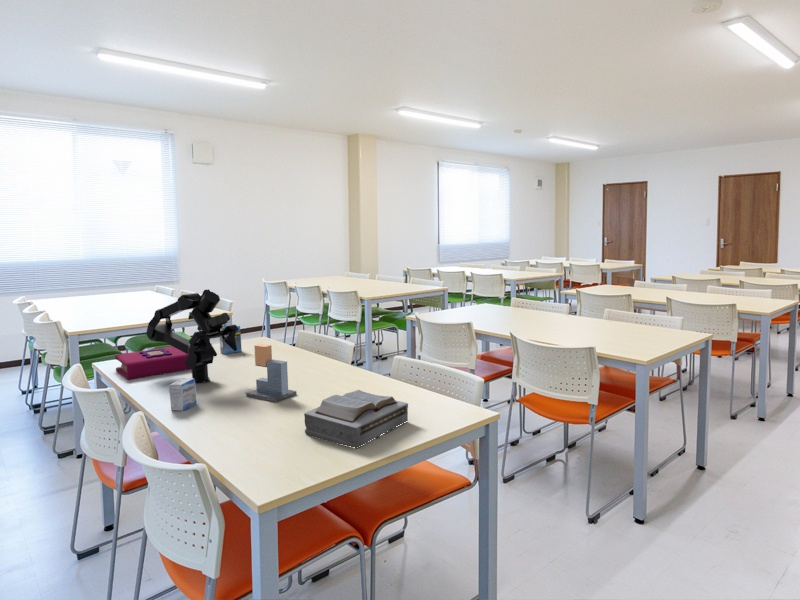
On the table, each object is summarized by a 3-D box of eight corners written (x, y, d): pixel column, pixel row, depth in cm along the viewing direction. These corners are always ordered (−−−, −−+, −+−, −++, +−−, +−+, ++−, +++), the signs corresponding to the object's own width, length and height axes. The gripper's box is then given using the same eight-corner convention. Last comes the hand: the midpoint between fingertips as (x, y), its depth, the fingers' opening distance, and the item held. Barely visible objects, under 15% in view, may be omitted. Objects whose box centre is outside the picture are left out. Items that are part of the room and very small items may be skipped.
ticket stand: (246, 396, 187) (244, 361, 186) (267, 388, 196) (265, 355, 194) (276, 402, 180) (274, 366, 178) (296, 394, 188) (295, 359, 187)
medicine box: (183, 411, 172) (181, 384, 171) (170, 410, 173) (168, 384, 172) (197, 403, 180) (195, 378, 179) (184, 402, 181) (183, 377, 180)
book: (201, 369, 226) (200, 351, 225) (128, 381, 209) (126, 362, 208) (184, 360, 242) (183, 343, 241) (115, 371, 225) (113, 353, 224)
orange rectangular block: (255, 365, 188) (254, 345, 187) (261, 363, 191) (260, 343, 190) (265, 367, 185) (264, 346, 185) (272, 365, 188) (271, 345, 187)
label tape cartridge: (238, 350, 259) (237, 324, 258) (241, 351, 256) (240, 325, 255) (220, 353, 254) (218, 327, 252) (223, 354, 251) (222, 328, 249)
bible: (295, 431, 155) (293, 397, 154) (367, 408, 174) (366, 378, 173) (345, 454, 139) (344, 417, 137) (419, 427, 157) (419, 394, 156)
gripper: (192, 309, 190) (215, 344, 186) (234, 303, 206) (256, 334, 202) (179, 330, 195) (201, 363, 191) (220, 322, 211) (242, 353, 207)
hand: (226, 353), depth 197 cm, fingers open, 9 cm apart
